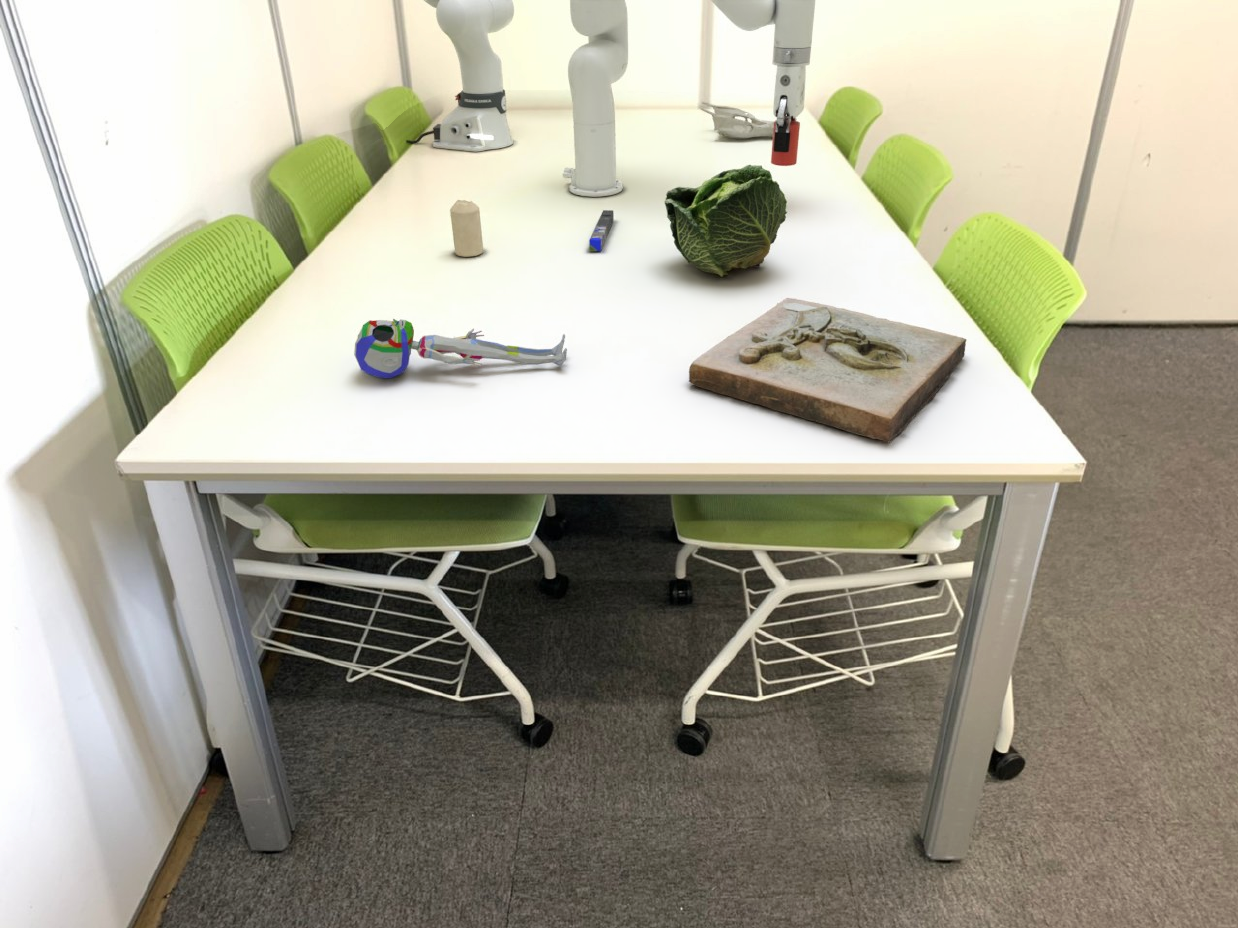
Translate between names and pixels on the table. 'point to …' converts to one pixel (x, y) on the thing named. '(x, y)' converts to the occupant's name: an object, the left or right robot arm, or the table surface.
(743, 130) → the anatomical model
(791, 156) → the canister
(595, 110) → the right robot arm
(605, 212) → the pillar
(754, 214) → the vegetable
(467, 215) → the candle
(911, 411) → the plaque
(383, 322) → the toy
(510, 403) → the table surface
